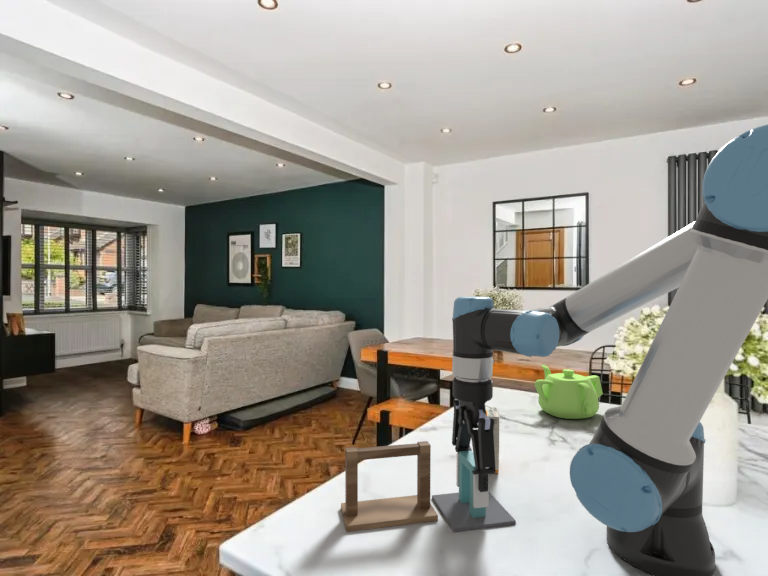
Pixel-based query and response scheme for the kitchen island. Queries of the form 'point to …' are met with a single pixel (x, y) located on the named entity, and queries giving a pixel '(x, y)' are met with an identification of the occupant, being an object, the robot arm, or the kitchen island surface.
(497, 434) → the supplement box
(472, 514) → the teal u-shaped block
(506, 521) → the coaster
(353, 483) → the stand
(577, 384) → the teapot
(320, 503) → the kitchen island surface
